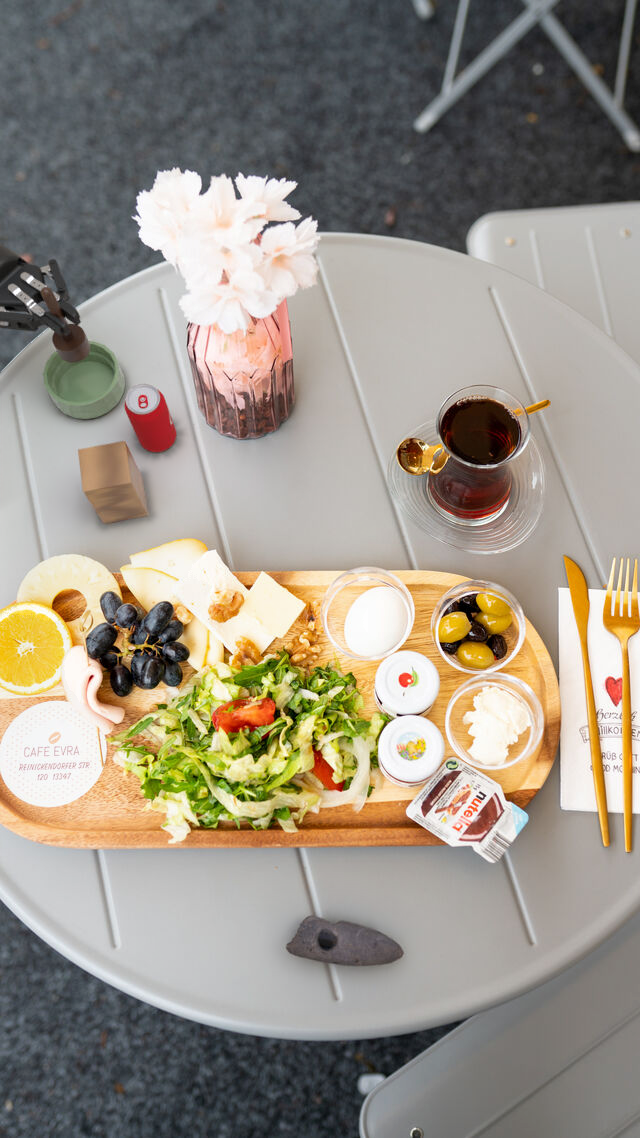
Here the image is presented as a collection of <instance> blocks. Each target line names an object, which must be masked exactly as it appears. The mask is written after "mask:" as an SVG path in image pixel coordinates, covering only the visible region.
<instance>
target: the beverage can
mask: <svg viewBox="0 0 640 1138" xmlns="http://www.w3.org/2000/svg"><path fill="white" fill-rule="evenodd" d="M124 411H125V413H126V415H127V418H128V420H129V422H130V424H131V427H132V429H133V431H134V433H135V435H136V438H137V440H138V443H139V444H140V446H141V447H142V448H143V449H144V450H146V451H148V452H151V453H162V452H165V451H167V450H168V449H170V448H171V447H172V446H173V445H174V443H175V442H176V439H177V429H176V426H175V424H174V421H173V418H172V416H171V413H170V410H169V406H168V404H167V401H166V398H165V396H164V394H163V393H162V392H161V390H159V389H157V388H156V387H155V386H153V385H152V384H149V383H139V384H136V385H134V386H132V387H131V388H130V389H129V390H128V391H127V393H126V395H125V399H124Z"/></svg>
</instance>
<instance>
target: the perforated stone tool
mask: <svg viewBox="0 0 640 1138" xmlns="http://www.w3.org/2000/svg"><path fill="white" fill-rule="evenodd" d="M285 949H286V950H287V952H288V953H289V954H290V955H293V956H296V957H299V958H302V959H307V960H312V961H315V962H321V963H325V964H332V965H339V966H347V967H350V966H351V967H373V966H383V965H388V964H392V963H395V962H396V961H398V960H400V959H402V958H403V957H404V954H405V953H404V950H403V947H402V946H401V945H400V944H399V943H398V942H397V941H395V940H394V939H393V938H392V937H390V936H388V935H387V934H385V933H382V932H381V931H379V930H376V929H374V928H371V927H368V926H365V925H362V924H358V923H354V922H350V921H346V920H339V921H337V922H336V923H333V922H330V921H329V920H327V919H324V918H323V917H320V916H316V915H308V916H306V917H305V918H304V919H303V920H302V922H301V923H299V926H298V927H297V930H296V932H295V935H294V936H293V938H292V939H291V940H290V941H289V942H287V943H286V946H285Z"/></svg>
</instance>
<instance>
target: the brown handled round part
mask: <svg viewBox="0 0 640 1138" xmlns="http://www.w3.org/2000/svg"><path fill="white" fill-rule="evenodd" d="M53 292H54V291H53V289H52V288H51V287H49V286H47V287H43V288H42V289H41V295H42V297H43V299H44V301H45V303H46V307H47V309H48V311H49V312H50V313H51V314H53V315H54V316H56V317H57V318H59V319H60V320H61V321H63V322H64V323H65V324H66V325H67V326H68V328H69V330H70V333H69V334H68V335H67V336H66V335H65V334H63V335H59V334H57V333H56V332H54V331H53V333H52V337H51V339H52V340H51V341H52V342H51V343H52V344H53V346H54V348H55V350H56V351H57V352H58V354H59V356H60V357H61V358H62V359H63V360H64V361H66V362H70V363H75V362H79V361H81V360H83V359H85V358H86V357H87V356H88V354H89V352H90V343H89V341H90V340H89V339H88V337H87V334H86V332H85V330H84V328H83V327H82V326H80V325H78V326H77V325H75V324H74V323H68V321H67V318H66V317H65V316H64V314H63V312H62V310H61V308H60V306H59V304H58V302H57V300H56V298H55V295H54V293H53Z"/></svg>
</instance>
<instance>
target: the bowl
mask: <svg viewBox="0 0 640 1138" xmlns="http://www.w3.org/2000/svg"><path fill="white" fill-rule="evenodd" d="M88 341H89V343H90V352H89V354H88V356H87V357H86V358H85V359H83V360H81V361H79V362H75V363H70V362H66V361H64V360H63V359H62V358H61V357H60V356H59V354H58V352H57V350H56V351H55V352H53V353H52V354H51V355H50V356H49V359H48V360H46V361H47V362H46V363H45V365H44V369H43V372H42V377H43V385H44V387H45V389H46V391H47V393H48V394H49V396H50V398H51V400H52V401H53V403H54V405H55V406H56V408H57V409H59V411H61V412H62V413H63V414H64V415H67V416H69V417H72V418H74V419H82V420H88V419H95V418H98V417H101V416H103V415H105V414H107V413H109V412H110V411H111V410H112V409H113V408H115V407H116V406H117V405H118V404H119V402H120V401H121V399H122V397H123V395H124V391H125V387H126V382H125V381H126V380H125V375H124V372H123V370H122V368H121V365H120V362H119V360H118V359H117V357H116V355H115V353H114V352H113V351H112V350H111V349H110V348H109V347H107V346H106V345H105V344H102V343H100V342H97V341H94V340H88Z"/></svg>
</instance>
